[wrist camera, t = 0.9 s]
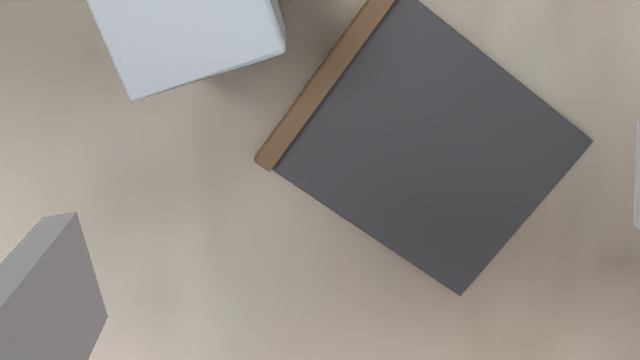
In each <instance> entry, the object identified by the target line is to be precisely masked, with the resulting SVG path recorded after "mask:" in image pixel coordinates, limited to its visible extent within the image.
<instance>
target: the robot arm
mask: <svg viewBox="0 0 640 360" xmlns="http://www.w3.org/2000/svg"><path fill="white" fill-rule="evenodd" d="M633 227H635V228H636V229H638V230H639V231H640V119H636V138H635V174H634V210H633ZM107 317H108V316H107V312H106V309H105V306H104V302H103V299H102V296H101V292H100V289H99V286H98V282H97V279H96V276H95V272H94V269H93V266H92V262H91V259H90V256H89V252H88V249H87V246H86V242H85V239H84V235H83V232H82V229H81V225H80V222H79V219H78V215H77V212H74V213H68V214H62V215H56V216H50V217H44V218H42V219H41V220H40V221H39V222H38V223H37V224H36V226H35V227H34V228H33V229H32V230H31V231H30V232H29V233H28V234H27V235H26V236H25V238H24V239H23V240H22V241H21V242H20V243H19V244H18V245H17V246H16V247H15V248H14V250H13V251H12V252H11V253H10V254H9V255H8V256H7V257H6V258H5V259H4V260H3V262H2V263H1V264H0V360H88V359H89V357H90V354H91V352H92V350H93V348H94V346H95V343H96V341H97V339H98V337H99V335H100V333H101V330H102V328H103V326H104V324H105V322H106V320H107Z"/></svg>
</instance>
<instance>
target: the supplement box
mask: <svg viewBox="0 0 640 360" xmlns="http://www.w3.org/2000/svg"><path fill="white" fill-rule="evenodd" d="M86 2H87V4H88V6H89V9H90V11H91V13H92V16H93V18H94V20H95V23H96V25H97V27H98V29H99V32H100V34H101V36H102V39H103V41H104V43H105V46H106V48H107V50H108V52H109V55H110V57H111V59H112V62H113V64H114V66H115V68H116V71H117V73H118V75H119V77H120V80H121V82H122V84H123V86H124V88H125V91H126V93H127V95H128V98H129V100H130V101H132V102H133V101H135V100H138V99H141V98H145V97H148V96H151V95H154V94H157V93H161V92H164V91H167V90H170V89H173V88H176V87H179V86H182V85H186V84H189V83H192V82H195V81H199V80H202V79H205V78H208V77H212V76H215V75H218V74H222V73H225V72H228V71H231V70H235V69H238V68H241V67H244V66H247V65H250V64H254V63H257V62H260V61H263V60H266V59H269V58H273V57H276V56H279V55H282V54H284V53H285V51H286V35H285V24H284V21H283V17H282V14H281V10H280V7H279V3H278V0H86Z"/></svg>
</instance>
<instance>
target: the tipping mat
mask: <svg viewBox="0 0 640 360" xmlns="http://www.w3.org/2000/svg"><path fill="white" fill-rule="evenodd" d="M592 142H593V140H591V139H590V138H589V137H588V136H586V135H585V134H584V133H583V132H581V131H580V130H579V129H578V128H576V127H575V126H574V125H573V124H571V123H570V122H569V121H568V120H566V119H565V118H564V117H563V116H561V115H560V114H559V113H558V112H556V111H555V110H554V109H553V108H551V107H550V106H549V105H548V104H546V103H545V102H544V101H543V100H541V99H540V98H539V97H538V96H536V95H535V94H534V93H533V92H531V91H530V90H529V89H528V88H526V87H525V86H524V85H523V84H521V83H520V82H519V81H518V80H516V79H515V78H514V77H513V76H511V75H510V74H509V73H508V72H506V71H505V70H504V69H503V68H501V67H500V66H499V65H498V64H496V63H495V62H494V61H493V60H491V59H490V58H489V57H488V56H486V55H485V54H484V53H483V52H481V51H480V50H479V49H478V48H476V47H475V46H474V45H473V44H471V43H470V42H469V41H468V40H466V39H465V38H464V37H463V36H461V35H460V34H459V33H458V32H456V31H455V30H454V29H452V28H451V27H450V26H449V25H447V24H446V23H445V22H444V21H442V20H441V19H440V18H439V17H437V16H436V15H435V14H434V13H432V12H431V11H430V10H429V9H427V8H426V7H425V6H424V5H422V4H421V3H420V2H419V1H417V0H367V2H366V3H365V4H364V6H363V7H362V8H361V10H360V11H359V13H358V14H357V15H356V17H355V18H354V20H353V21H352V22H351V24H350V25H349V27H348V28H347V29H346V31H345V32H344V33H343V35H342V36H341V38H340V39H339V40H338V42H337V43H336V45H335V46H334V47H333V49H332V50H331V52H330V53H329V54H328V56H327V57H326V59H325V60H324V61H323V63H322V64H321V65H320V67H319V68H318V70H317V71H316V72H315V74H314V75H313V77H312V78H311V79H310V81H309V82H308V84H307V85H306V86H305V88H304V89H303V91H302V92H301V93H300V95H299V96H298V97H297V99H296V100H295V102H294V103H293V104H292V106H291V107H290V109H289V110H288V111H287V113H286V114H285V116H284V117H283V118H282V120H281V121H280V122H279V124H278V125H277V127H276V128H275V129H274V131H273V132H272V134H271V135H270V136H269V138H268V139H267V141H266V142H265V143H264V145H263V146H262V148H261V149H260V150H259V152H258V153H257V154H256V156H255V159H254V162H255V163H257V164H258V165H260V166H261V167H263V168H264V169H266V170H267V171H269V172H270V171H271V169H272V170H273V171H275V172H276V173H278V174H279V175H281V176H282V177H284V178H285V179H287V180H288V181H290V182H291V183H293V184H294V185H296V186H297V187H299V188H300V189H302V190H303V191H305V192H306V193H308V194H309V195H311V196H312V197H314V198H315V199H317V200H318V201H320V202H321V203H323V204H324V205H326V206H327V207H329V208H330V209H331V210H333V211H334V212H336V213H337V214H339V215H340V216H342V217H343V218H345V219H346V220H348V221H349V222H351V223H352V224H354V225H355V226H357V227H358V228H360V229H361V230H363V231H364V232H366V233H367V234H369V235H370V236H372V237H373V238H375V239H376V240H378V241H379V242H381V243H382V244H384V245H385V246H387V247H388V248H390V249H391V250H393V251H394V252H396V253H397V254H399V255H400V256H402V257H403V258H405V259H406V260H408V261H409V262H410V263H412V264H413V265H415V266H416V267H418V268H419V269H421V270H422V271H424V272H425V273H427V274H428V275H430V276H431V277H433V278H434V279H436V280H437V281H439V282H440V283H442V284H443V285H445V286H446V287H448V288H449V289H451V290H452V291H454V292H455V293H457V294H458V295H460V296H461V295H462V293H463V292H464V291H465V290H466V289H467V288H468V286H469V285H470V284H471V283H472V282H473V281H474V280H475V278H476V277H477V276H478V275H479V274H480V273H481V271H482V270H483V269H484V268H485V267H486V266H487V264H488V263H489V262H490V261H491V260H492V259H493V257H494V256H495V255H496V254H497V253H498V252H499V250H500V249H501V248H502V247H503V246H504V245H505V243H506V242H507V241H508V240H509V239H510V238H511V237H512V235H513V234H514V233H515V232H516V231H517V230H518V228H519V227H520V226H521V225H522V224H523V223H524V221H525V220H526V219H527V218H528V217H529V216H530V214H531V213H532V212H533V211H534V210H535V209H536V207H537V206H538V205H539V204H540V203H541V202H542V200H543V199H544V198H545V197H546V196H547V195H548V194H549V192H550V191H551V190H552V189H553V188H554V187H555V185H556V184H557V183H558V182H559V181H560V180H561V178H562V177H563V176H564V175H565V174H566V173H567V171H568V170H569V169H570V168H571V167H572V166H573V164H574V163H575V162H576V161H577V160H578V159H579V157H580V156H581V155H582V154H583V153H584V152H585V150H586V149H587V148H588V147H589V146H590V145H591V144H592Z"/></svg>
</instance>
